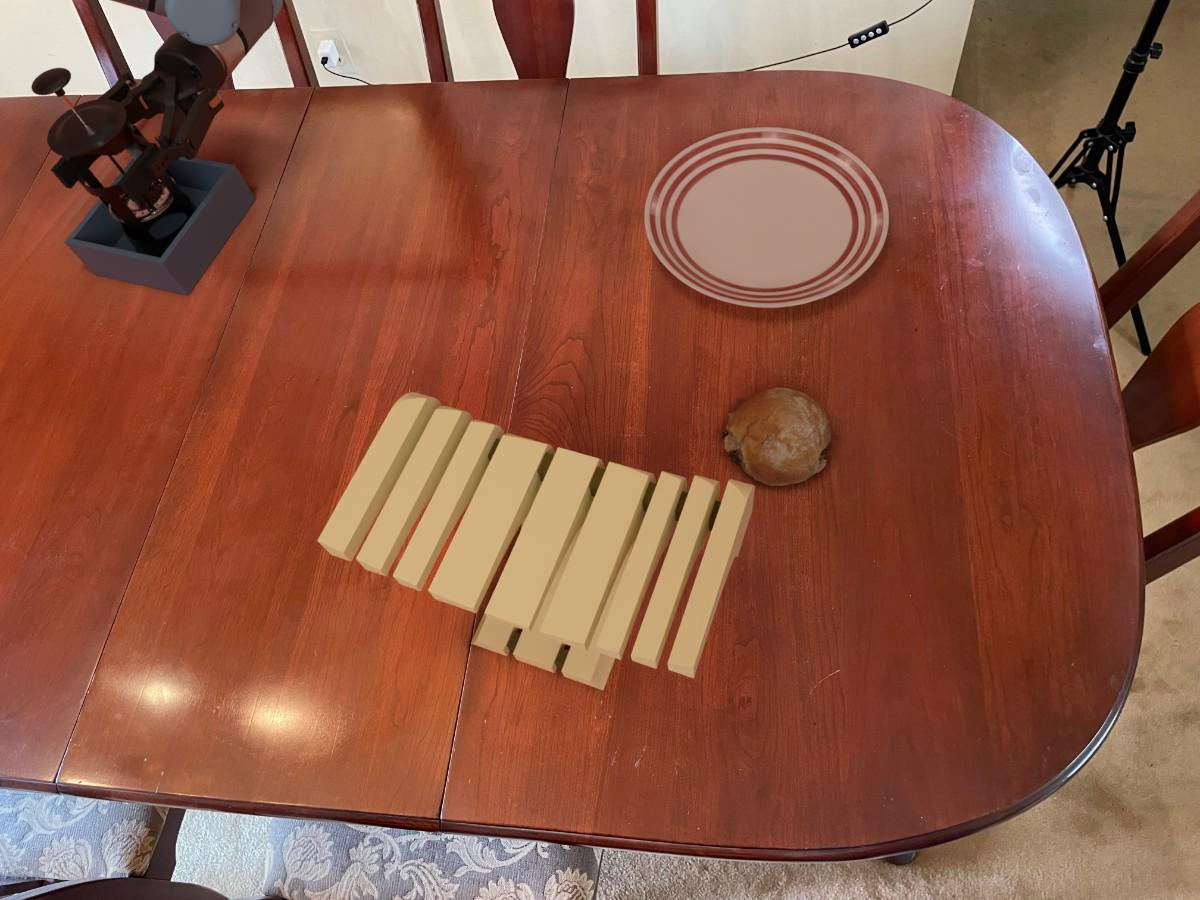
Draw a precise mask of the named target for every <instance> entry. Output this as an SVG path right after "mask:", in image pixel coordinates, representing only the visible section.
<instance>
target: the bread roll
mask: <svg viewBox="0 0 1200 900" xmlns="http://www.w3.org/2000/svg"><path fill="white" fill-rule="evenodd" d="M727 417H728V419H727V423H726V426H725V429H726V430H724V431H723V432H722V436H721V440H722V442H723V443H724V444H723V446H724V450H726V453H728V454H729V453H730V452H731V454H732V460H733V461H734V462H735V463H737V464H739V465H740V466H741V469H742V471H743V472H744V473H745V474H747V475H748V476H750V477H751V478H753V480H754V481H757V482H760V483H763V484H765V485H767V486H770V487H775V486H776V487H778V486H780V487H781V486H782V487H785V486H788V485H794V484H799V483H802V482H805V481H807V480H808V479H809V478H811V477H812V476H814V475H815V474H817V473H820V472H821V471H822V470H823V469H825V466H826V465H827V462H828V460H827V459H825V456H826V454H827V453H828V450H829V444H830V443H831V442H832V435H833V424H832V420H831V417H830V415H829V413H828V411H827V410H826V409H825V408H824V406H823V405H822V404H821V403H819V402H818V401H817V399H815V398H813V397H812V396H809V395H808V394H807V393H805V392H802V391H800V390H797V389H794V388H788V387H773V388H769V389H765V390H761V391H759V392H756V393H755V394H754V393H753V394H752V395H751V394H750V396H748V397H747V398H744V399H743V400H742V402H741V403H740V404H739V406H738V407H737V408H736V409H735V410H734V411H732V412H728V413H727Z"/></svg>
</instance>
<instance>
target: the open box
mask: <svg viewBox="0 0 1200 900" xmlns="http://www.w3.org/2000/svg"><path fill="white" fill-rule="evenodd" d="M134 162H135V161H134V159H133V158H132V157H131V160H130V161H129V162H128V163H127V165H126V166H125V167H124V168H122V169H123V171H124V172H125V173H126V172H127V171H128V170H129V168H130V167H131V166H132V165H133V163H134ZM167 169H168V170H169V171H170V173H171V174H172V176H173V177H174V178H175V183H176V185H177V187H178V188H179V189H180V191H182V192H184V193H185V194H187V195H188V197H189V198H190V199H191V200H192V202H193V203H194V205H195V206H196V207H197V209H196V210H195V212H194V213H193V215H192V216H191V217H190V219H189V220H188V221H187V223H186V224H185V225H184V227H183V228H182V229H181V231H180V232H179V233H178V235H177V236H176V238H175V239H174V240H173V242H172V243H171V244H170V246H169V247H168V248H167V250H166V251H165V252H164V254H163V255H162V256H161V258H159V257H154V256H150V255H145V254H141V253H137V251H136V250H135V247H134V245H133V244H132V243H131V242H130V241H129V240H128V238H127V237H126V236H125V235H124V233H123V231H122V224H121V223H120V222H119V221H117V220H115V219H114V218H113V217H112V216H111V215H110V213H109V209H108V208H107V207H106V205H105V204H104V203H103V202H102V201H101V199H100V198H98V200H97V202H96V203H95V204H94V205H93V206H92V207H91V209H90V210H89V211H88V212H87V213H86V215H85V216H84V217H83V219H81V221H80V222H79V223H78V225H77V226H76V227H75V228H74V230H72V232H71V233H70V234H69V236H68V237H67V238H66V239H65V240H64V244H65V245H66V246H67V247H68V248H69V250H71V251H72V252H73V254H74V255H75V256H76V257H77V258H78V259H79V260H80V261H81V262H82V263H83V264H84V266H86V267H87V269H88V270H89V271H90V272H91V273H92V274H93V275H96V276H100V277H103V278H109V279H114V280H118V281H122V282H126V283H130V284H135V285H139V286H143V287H148V288H153V289H157V290H161V291H164V292H165V291H167V292H170V293H174V294H179V295H182V296H183V295H184V296H187V297H189V295H190V294H191V293H192V291H193V290H194V288H195V287H196V286H197V284H198V283H199V281H200V280H201V279H202V277H203V276H204V274H205V273H206V271H207V270H208V268H209V267H210V265H211V264H212V263H213V261H214V260H215V258H216V257H217V255H218V254H219V253H220V251H221V250H222V248H223V247H224V246H225V244H226V243H227V241H228V240H229V239H230V238H231V236H232V234H233V233H234V231H236V229H237V227H238V226H239V224H240V223H241V222H242V220H243V219H244V217H245V215H246V214H247V213H248V211H249V210H250V209H251V207H252V206H253V204H254V203H255V201H256V197H255V196H254V194H253V192H252V191H251V189H250V186H248V184H247V182H246V181H245V179H244V177H243V175H242V173H241V172H240V171H239V169H238V167H237V166H236V164H231V163H225V162H219V161H215V160H209V159H204V158H199V157H195V158H193V159H191V160H187V159H186V158H185V157H180V158H179V159H178V160H177V161H172V162H171V164H170V165H169V166H168V167H167ZM122 177H123V174H122V173H121V172H120V173H119V174H118V175H117V177H116V178H115V179H114V180H113V182H112V183H111V184H110V185H109V187H111V186H114V185H117V184H119V183H118V182H119V181H120V179H121V178H122ZM187 217H188V216H187V215H186V214H185V213H173V214H169V215H166V216H164V217H162V218H160V219H158V220H157V221H156V222H154V223H153V224H152V225H151V226H150V227H149V229H148V232H149V233H150V234H151V235H152V236H153V238H154V239H155V240H157V239H160V238H163V237H165V236H167V235H169V234H171V233H172V232H174V231H175V230H177V229H178V228H179V227H180V226H181V225H182V224H183V223H184V222H185V220H186V219H187Z"/></svg>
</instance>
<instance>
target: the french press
mask: <svg viewBox="0 0 1200 900" xmlns="http://www.w3.org/2000/svg"><path fill="white" fill-rule="evenodd" d="M71 79H72V72H71V71H70V70H69V69H67V68H65V67H54V68H50V69H48V70H45V71H43V72H41V73H40V74H39V75H37V76H36V77H35V78H34V80H33V81H32V83H31V87H30V88H31V91H32V92H33V93H34V94H35V95H38V96H49V95H52V94H55V95H56V96H57V97H58V98H62V100H63V101H64V103H65V104H66V105H67V106H68V108H69V109H68V110H66V112H64V113H63V114H61V115H60V116H59V117H58V118H57V119H55V121H54V122H53V124H52V125H51V127H50V128H49V130H48V132H47V136H46V141H47V145H48V147H49V149H50V150H51V151H52V153H55V154H56V155H58V156H60V157H62V156H63V157H64V158H65V159H66V161H68V160H69V159H70V157H79V156H84V155H85V156H84V157H83V158H82V159H81V160H80V162H79V163H78V165H77V169H76V176H77V179H78V181H77V182H78V183H80V185H81V186H82V187H83V188H84V190H85V191H86V192H87V193H88V194H90V195H91V196H94V197H97V198H98V199H101V201H102V202H103V203H104V204H105V205H106V207H107V208H108V209H109V213H110V215H111V216H112V217H113V218H114V219H115V220H117V221H119V222H120V223H121V224H122V231H123V233H124V235H125V236H126V237H127V238H128V240H129V241H130V242H131V243H132V244H133V245H134V247H135V250H136V251H137V253H141V254H145V255H150V256H154V257H159V258H161V256H162V255H163V254H164V252H165V251H166V250H167V248H168V247H169V246H170V244H171V243H172V242H173V240H174V239H175V238H176V236H177V235H178V233H179V232H180V231H181V229H182V228H183V227H184V225H185V224H186V223H187V221H188V220H189V219H190V217H191V216H192V215H193V213H194V212H195V210H196V209H197V207H196V206H195V205H194V203H193V202H192V200H191V199H190V198H189V197H188V195H187V194H185V193H184V192H182V191H180V189H179V188H178V187H177V185H176V183H175V178H174V177H173V176H172V174H171V173H170V171H169V170H168V169H166V170H165V171H164V173H163V174H162V175H161V176H160V177H158V178H156V179H155V180H154V182H153V183H152V184H151V185H150V187H149V188H148V189H147V190H146V192H145V193H144V194H143V196H142V197H141V198H140V199H139V201H138V202H136V201H132V200H131V199H130V197H129V196H128V195H127V194H126V192H125V191H124V190H123V188H122V187H121V186H120V185H119V184H117V185H114V186H111V187H110V186H106V187H105V186H104V185H103V184H102V183H101V181H100V180H99V179H98V177H96V176H95V174H94V173H93V171H92V170H90V167H91V166H92V165H93V164H94V163H95V162H96V161H97V160H98V159H99V158H101V157H102V156H104V157H105V156H106V157H108V158H109V159H110V161H111V162H112V163H113V164H114V166H115V167H116V168H117V170H118V171H119V172H120V173H122V174H123V176H124V175H125V172H124V171H123V169H124V168H123V167H121V166H120V164H119V163H118V161H117V160H116V158H115V157H114V156H117V155H119V154H121V153H123V152H124V151H125V150H126V152H127V153H128V154H129V155H130V157H131V159H132V158H133V159H134V161H136V160H137V158H138V157H139V156H140V155H141V153H142V152H143V151H144V150H145V149H146V147H147V146H148V145H149V144H150V143H151V142H150V141H149V140H148V139H147V138H146V136H145V135H144V134H143V132H142V131H141V130H140V129H139V127H138V126H137V125H135V124H134V125H132V124H131V123H130V122H129V120H128V114H127V111H126V109H125V108H124V107H123V105H122V104H120V103H119V102H117V101H114V100H110V99H98V98H97V99H93V100H88V101H86V102H82V103H80V104H77V105H75V106H73V104H72V102H70V101H69V99H68V98H67V96H66V91H65V90H64V88H66V86H67V85H68V84H69V83H70V81H71ZM173 213H185V214H186V215H187V216H188V217H187V219H186V220H185V222H184V223H183V224H182V225H181V226H180V227H179V228H178V229H177V230H175V231H174V232H172V233H171V234H169V235H167V236H165V237H163V238H160V239H157V240H155V239H154V238H153V236H152V235H151V234H150V233H149V232H148V229H149V227H150V226H151V225H152V224H153V223H154V222H156V221H157V220H158V219H160V218H162V217H164V216H166V215H169V214H173Z"/></svg>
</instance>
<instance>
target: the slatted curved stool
mask: <svg viewBox="0 0 1200 900" xmlns="http://www.w3.org/2000/svg"><path fill="white" fill-rule="evenodd" d="M504 431H505V430H504V429H503V428H502V427H501V425H499V424H495V423H491V422H488V421H484V420H480V419H474V418H473V416H472V414H471V413H470V412H468V411H466V410H463V409H458V408H455V407H451V406H447V405H442V403H441V401H440V400H439V399H438V398H436V397H434V396H430V395H426V394H423V393H419V392H415V391H410V392H406V393H405V394H403V395H401V396H400V397H399V398H398V399H397V400H396V401H395V402H394V404H393V405H392V407H391V409H390V410H389V412H388V413H387V416H386V417H385V419H384V421H383V422H382V424H381V426H380V428H379V429H378V431H377V433H376V435H375V436H374V439H373V440H372V442H371V444H370V446H369V447H368V449H367V451H366V452H365V455H364V457H363V458H362V460H361V462H360V463H359V464H358V467H357V469H356V470H355V472H354V474H353V476H352V478H351V480H350V482H349V483H348V485H347V487H346V488H345V491H344V492H343V494H342V496H341V497H340V499H339V500H338V503H337V504H336V507H335V508H334V510H333V512H332V513H331V516H330V517H329V519H328V520H327V522H326V523H325V526H324V528H323V530H322V532H321V533H320V535H319V536H318V538H317V540H316V541H317V542H318V544H320V545H321V546H322V547H323V548H324V549H325V550H326V551H327V552H328V553H329V554H330V555H331V556H334V557H336V558H339V559H342V560H344V561H345V560H346V561H348V562H350V563H351V562H353V560H354V557H356V558H355V560H356V561H357V562H358V563H359V564H360V565H361V566H362V567H363V569H364V570H366V571H369V572H372V573H374V574H377V575H380V576H383V577H387V576H388V574H389V572H390V570H391V568H392V566H393V565H394V562H395V560H396V559H397V557H398V556H399V553H400V551H401V549H402V547H403V545H404V544H405V542H406V540H407V538H408V537H409V534H410V533H411V531H412V529H413V527H414V526H415V524H416V523H417V521H418V519H419V517H420V516H421V514H422V512H423V510H424V508H425V507H426V506H427V507H426V508H425V511H424V513H423V515H422V516H421V518H420V521H419V522H418V524H417V526H416V528H415V531H414V532H413V534H412V537H411V538H410V540H409V542H408V544H407V547H406V548H405V550H404V552H403V554H402V556H401V558H400V560H399V561H398V564H397V566H396V568H395V570H394V572H393V573H392V577H393V579H395V580H396V582H397V583H398V584H399V585H401V586H404V587H407V588H410V589H412V590H415V591H418V592H422V590H423V588H424V586H425V584H426V582H427V580H428V578H429V576H430V575H431V571H432V570H433V568H434V566H435V564H436V562H437V560H438V558H439V557H440V554H441V552H442V550H443V549H444V547H445V545H446V543H447V540H449V537H450V535H451V534H452V531H454V528H455V526H456V525H457V523H458V521H459V520H460V518H461V516H462V515H463V513H464V511H465V510H466V511H465V513H464V515H463V517H462V519H461V521H460V523H459V526H458V527H457V530H456V531H455V533H454V536H453V538H452V540H451V542H450V544H449V546H448V548H447V551H446V552H445V554H444V557H443V559H442V561H441V563H440V564H439V567H438V569H437V571H436V573H435V574H434V577H433V579H432V582H431V584H430V586H429V587H428V589H427V592H428V593H429V594H430V596H431V597H432V598H433V599H434V600H436V601H439V602H442V603H445V604H448V605H450V606H454V607H456V608H460V609H462V610H466V611H469V612H470V613H474V614H477V613H478V611H479V609H480V607H481V605H482V602H483V600H484V598H485V595H486V594H487V591H488V590H489V587H490V585H491V582H492V581H493V579H494V577H495V575H496V573H497V570H498V568H499V566H500V564H501V562H502V560H503V558H504V556H505V554H506V552H507V550H508V548H509V547H510V544H511V543H512V541H513V539H514V537H515V535H516V533H517V532H518V530H519V528H520V526H521V528H520V532H519V534H518V536H517V538H516V540H515V543H514V544H513V548H512V549H511V552H510V554H509V556H508V559H507V561H506V563H505V565H504V568H503V570H502V572H501V574H500V577H499V579H498V581H497V583H496V586H495V588H494V590H493V592H492V595H491V597H490V599H489V601H488V604H487V606H486V608H485V610H484V612H483V615H482V617H481V619H480V622H479V623H478V626H477V628H476V631H475V633H474V635H473V637H472V640H471V641H470V644H471V645H473V646H476V647H479V648H482V649H485V650H489V651H491V652H493V653H497V654H499V655H502V656H505V657H508V656H509V654H510V652H512V655H513V657H514V658H515V660H516V661H519V662H521V663H525V664H527V665H530V666H533V667H536V668H538V669H541V670H544V671H547V672H550V673H553V674H555V673H556V671H557V669H561V671H560V672H561V673H562V675H563V677H564V678H568V680H569V679H570V680H572V681H576V682H578V683H581V684H584V685H586V686H588V687H592V688H594V689H598V690H601V691H604V690H605V687H606V685H607V682H608V679H609V676H610V674H611V671H612V668H613V666H614V663H615V660H616V659H617V660H619V661H621V660H622V659H623V656H624V653H625V650H626V647H627V644H628V642H629V639H630V637H631V634H632V631H633V629H634V625H635V623H636V621H637V618H638V615H639V613H640V610H641V607H642V605H643V603H644V599H645V597H646V594H647V591H648V588H649V586H650V584H651V581H652V579H653V576H654V574H655V572H656V570H657V567H658V565H659V562H660V560H661V558H662V556H663V553H664V552H665V550H666V549H667V547H668V549H667V552H666V555H665V557H664V561H663V562H662V563H663V564H662V566H661V569H660V572H659V575H658V577H657V580H656V583H655V586H654V588H653V592H652V594H651V597H650V600H649V602H648V606H647V608H646V611H645V614H644V617H643V620H642V622H641V625H640V628H639V630H638V633H637V636H636V639H635V641H634V644H633V648H632V650H631V654H630V658H631V661H632V662H635V663H637V664H640V665H643V666H646V667H649V668H652V669H655V670H657V669H658V666H659V663H660V660H661V657H662V654H663V651H664V649H665V645H666V643H667V639H668V637H669V634H670V632H671V628H672V625H673V622H674V621H675V616H676V614H677V611H678V608H679V605H680V603H681V601H682V597H683V595H684V591H685V589H686V587H687V583H688V581H689V578H690V575H691V573H692V571H693V568H694V565H695V563H696V561H697V559H698V556H699V555H700V553H701V552H702V551H703V549H704V546H705V543H706V541H707V538H708V541H707V544H706V547H705V550H704V553H703V557H702V559H701V562H700V565H699V567H698V571H697V574H696V577H695V580H694V583H693V586H692V588H691V592H690V595H689V598H688V600H687V604H686V607H685V609H684V613H683V615H682V619H681V622H680V625H679V627H678V631H677V634H676V636H675V640H674V642H673V645H672V649H671V650H670V651H671V652H670V654H669V658H668V660H667V669H668V671H670V672H673V673H677V674H680V675H683V676H685V677H689V678H691V679H695V676H696V673H697V670H698V667H699V663H700V661H701V657H702V654H703V651H704V649H705V646H706V642H707V639H708V635H709V634H710V629H711V627H712V623H713V620H714V618H715V614H716V611H717V608H718V605H719V602H720V599H721V596H722V593H723V591H724V588H725V584H726V581H727V580H728V579H727V578H728V576H729V573H730V571H731V569H732V568H731V567H732V565H733V563H734V560H735V558H736V557H737V558H738V557H739V554H740V551H741V548H742V545H743V541H744V538H745V536H746V532H747V529H748V526H749V522H750V519H751V516H752V513H753V507H754V498H755V490H756V486H755V485H754V484H751V483H747V482H743V481H741V480H736V479H732V478H730V479H728V481H727V483H726V487H725V490H724V492H723V496H722V498H721V497H720V496H721V482H720V481H719V480H716V479H713V478H709V477H705V476H701V475H698V474H695V475H694V476H693V479H692V482H691V485H690V488H689V491H688V480H687V477H685V476H682V475H680V474H674V473H671V472H668V471H664V470H662V471H661V473H660V475H659V477H658V481H657V480H656V476H655V474H654V473H653V472H649V471H645V470H643V469H639V468H635V467H630V466H627V465H623V464H621V463H617V462H613V461H608V464H607V466H606V468H605V463H604V461H603V460H602V459H601V458H598V457H595V456H591V455H588V454H584V453H580V452H577V451H574V450H570V449H567V448H563V447H559V446H558V447H557V449H556V451H555V450H554V447H553V446H552V445H551V444H549V443H545V442H542V441H538V440H535V439H531V438H527V437H523V436H520V435H517V434H513V433H505V432H504ZM720 498H721V501H720ZM372 525H373V526H372ZM371 527H372V528H371ZM709 531H710V534H709ZM708 534H709V537H708ZM672 535H673V536H672ZM365 538H366V539H365ZM364 539H365V541H364ZM670 540H671V541H670ZM363 541H364V542H363ZM362 543H363V545H362ZM361 545H362V546H361ZM360 547H361V548H360ZM359 548H360V550H359ZM358 551H359V552H358ZM357 552H358V554H357ZM356 555H357V556H356ZM520 629H521V630H522V631H521V632H520V633H519V630H520ZM566 646H569V647H570V648H569V649H566Z"/></svg>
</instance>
